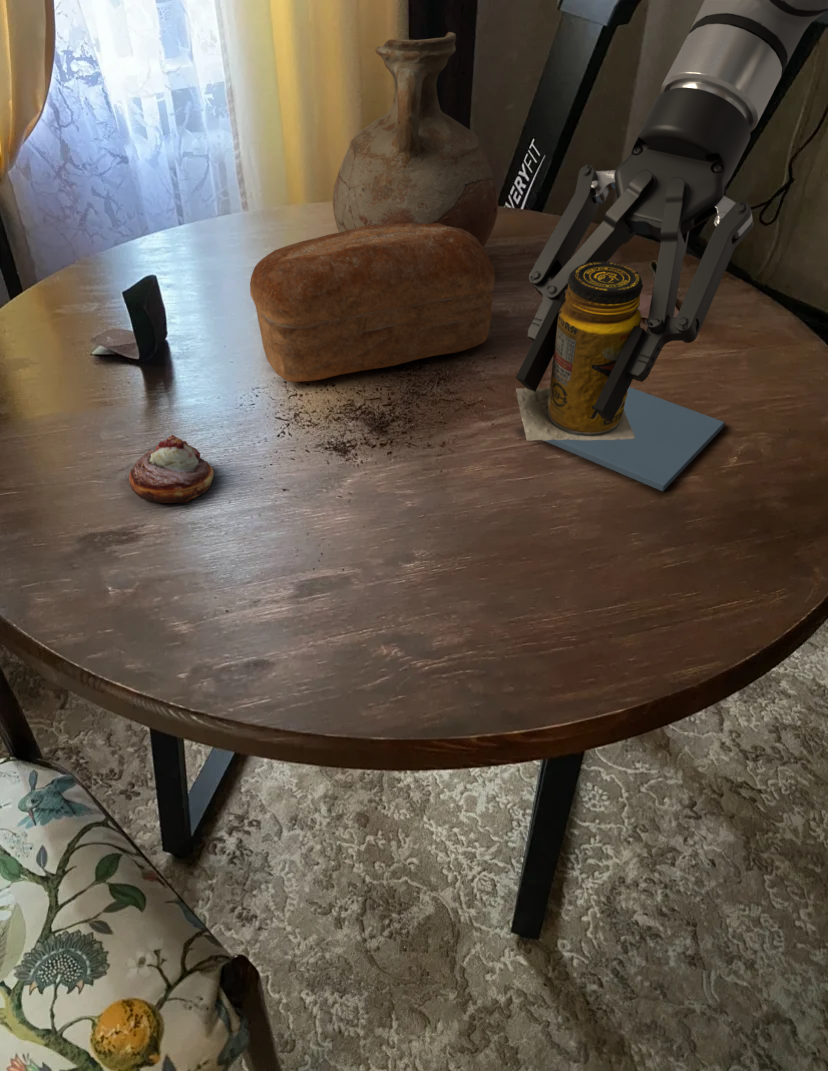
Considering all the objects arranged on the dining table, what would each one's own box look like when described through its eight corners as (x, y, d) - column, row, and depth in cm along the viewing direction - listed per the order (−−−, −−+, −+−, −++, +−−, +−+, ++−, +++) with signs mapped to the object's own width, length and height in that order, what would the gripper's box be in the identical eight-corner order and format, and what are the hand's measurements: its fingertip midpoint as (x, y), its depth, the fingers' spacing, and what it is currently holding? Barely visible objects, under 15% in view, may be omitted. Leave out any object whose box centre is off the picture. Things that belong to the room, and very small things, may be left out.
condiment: (635, 440, 65) (665, 295, 57) (526, 442, 65) (541, 298, 57) (615, 390, 71) (640, 251, 63) (515, 392, 70) (527, 253, 62)
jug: (477, 243, 126) (488, 11, 106) (509, 309, 110) (529, 50, 90) (333, 252, 124) (316, 17, 104) (344, 320, 108) (327, 57, 88)
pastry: (224, 465, 85) (216, 424, 81) (197, 512, 79) (188, 470, 76) (149, 457, 86) (138, 416, 82) (117, 503, 80) (104, 461, 77)
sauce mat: (723, 428, 89) (725, 421, 89) (662, 492, 81) (664, 485, 80) (591, 379, 97) (592, 372, 96) (524, 433, 89) (524, 426, 88)
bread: (252, 349, 102) (235, 233, 93) (462, 310, 110) (466, 199, 100) (276, 399, 94) (260, 277, 84) (502, 353, 101) (511, 236, 92)
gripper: (835, 169, 60) (688, 458, 62) (602, 121, 69) (479, 375, 71) (835, 105, 54) (671, 430, 55) (578, 62, 63) (441, 342, 64)
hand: (563, 399), depth 63 cm, fingers closed on condiment, 6 cm apart
